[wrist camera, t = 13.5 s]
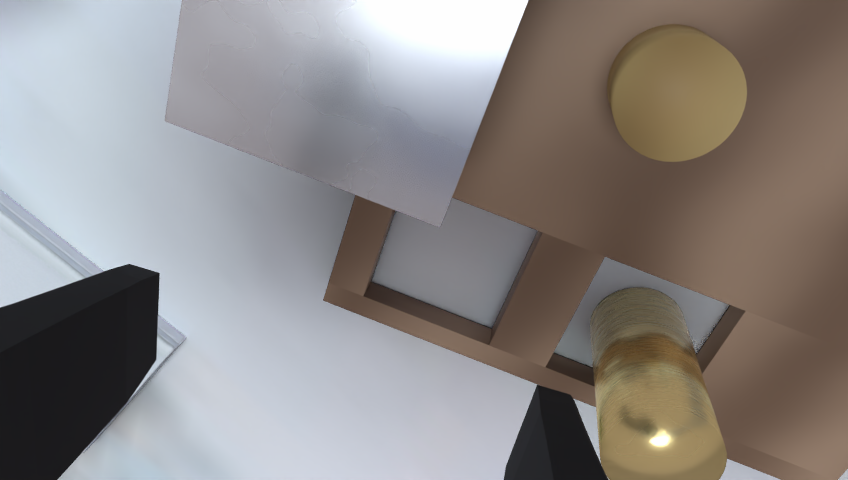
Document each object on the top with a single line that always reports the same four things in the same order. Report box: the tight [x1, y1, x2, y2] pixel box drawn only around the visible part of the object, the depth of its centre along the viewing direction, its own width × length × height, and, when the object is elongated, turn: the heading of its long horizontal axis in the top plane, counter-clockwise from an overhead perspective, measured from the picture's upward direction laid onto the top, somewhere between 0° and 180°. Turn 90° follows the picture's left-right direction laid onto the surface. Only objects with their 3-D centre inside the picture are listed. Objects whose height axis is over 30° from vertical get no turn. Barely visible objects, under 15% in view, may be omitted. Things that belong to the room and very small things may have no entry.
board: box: [323, 0, 848, 480], centre depth 18 cm, size 23×15×3 cm, turn 71°
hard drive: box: [0, 190, 186, 453], centre depth 26 cm, size 2×8×12 cm
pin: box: [590, 288, 727, 480], centre depth 19 cm, size 3×3×6 cm
